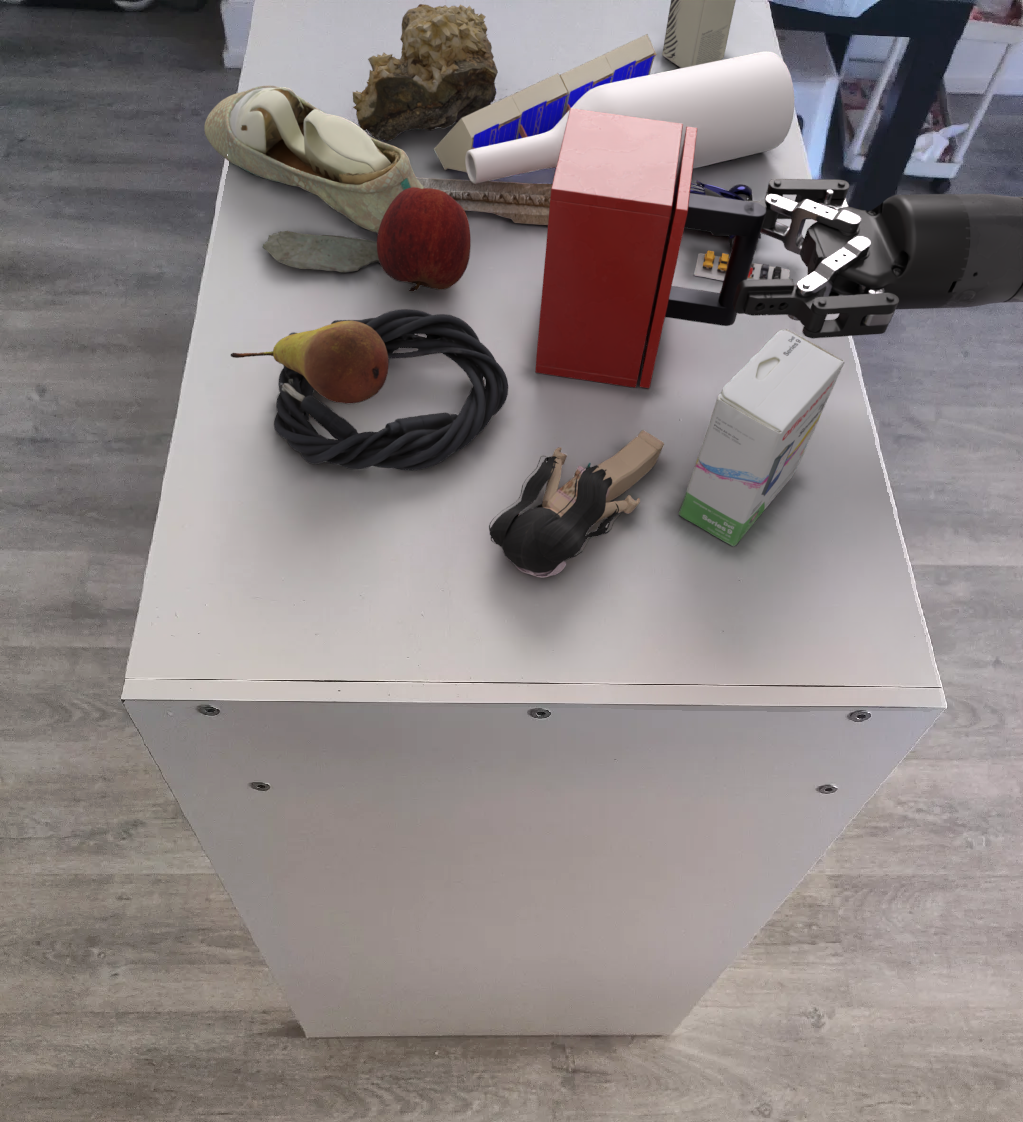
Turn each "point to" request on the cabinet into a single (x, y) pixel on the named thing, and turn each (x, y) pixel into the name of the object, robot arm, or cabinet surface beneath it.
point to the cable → (404, 438)
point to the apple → (424, 239)
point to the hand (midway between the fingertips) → (723, 257)
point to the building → (542, 103)
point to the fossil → (498, 198)
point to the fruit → (335, 360)
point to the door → (688, 214)
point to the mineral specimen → (429, 74)
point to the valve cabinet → (605, 244)
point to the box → (697, 31)
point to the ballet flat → (310, 152)
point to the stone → (321, 251)
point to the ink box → (758, 434)
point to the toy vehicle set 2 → (717, 267)
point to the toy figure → (571, 507)
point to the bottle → (672, 114)
